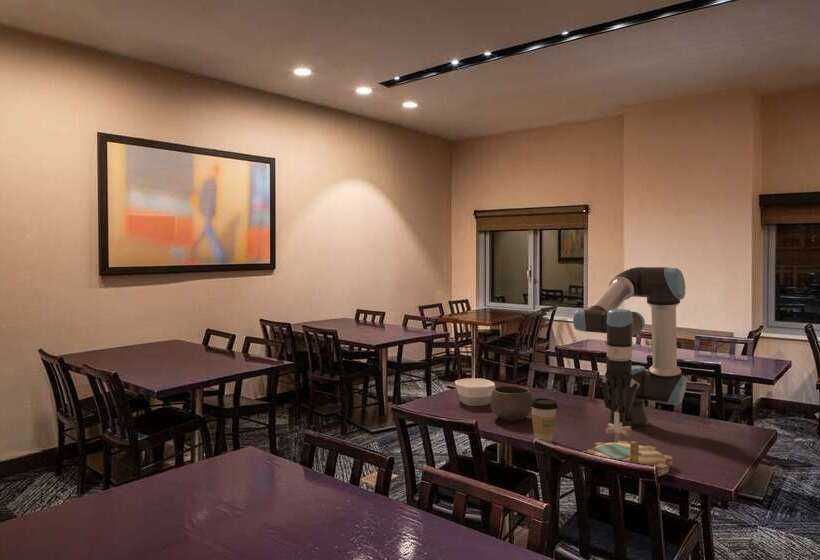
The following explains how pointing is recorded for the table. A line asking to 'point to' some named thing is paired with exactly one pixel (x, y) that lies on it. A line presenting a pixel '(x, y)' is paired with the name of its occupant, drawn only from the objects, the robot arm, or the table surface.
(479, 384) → the bowl
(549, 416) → the coffee cup
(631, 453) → the sprocket
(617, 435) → the light wooden cross
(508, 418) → the bowl
